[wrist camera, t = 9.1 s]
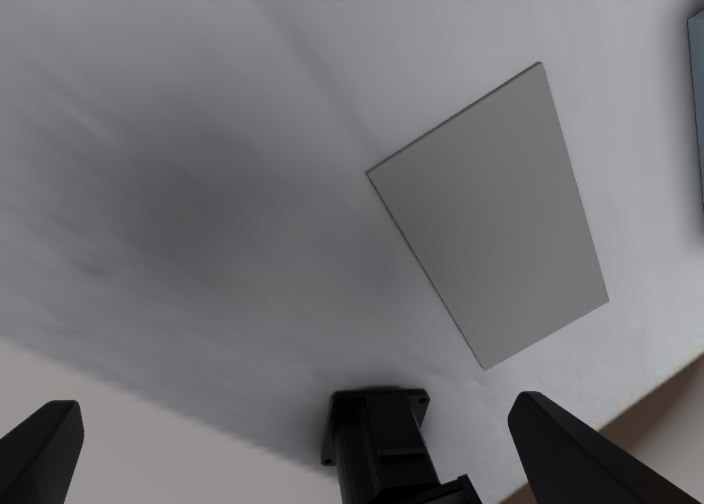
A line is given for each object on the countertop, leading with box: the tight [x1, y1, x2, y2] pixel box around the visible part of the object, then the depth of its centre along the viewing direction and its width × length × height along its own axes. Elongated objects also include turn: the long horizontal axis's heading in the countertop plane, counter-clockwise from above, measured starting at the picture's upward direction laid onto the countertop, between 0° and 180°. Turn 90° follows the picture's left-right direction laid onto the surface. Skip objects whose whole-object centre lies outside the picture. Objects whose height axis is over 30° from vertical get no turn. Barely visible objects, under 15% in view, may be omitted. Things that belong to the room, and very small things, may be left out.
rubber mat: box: [366, 62, 609, 371], centre depth 22 cm, size 16×9×1 cm, turn 31°
